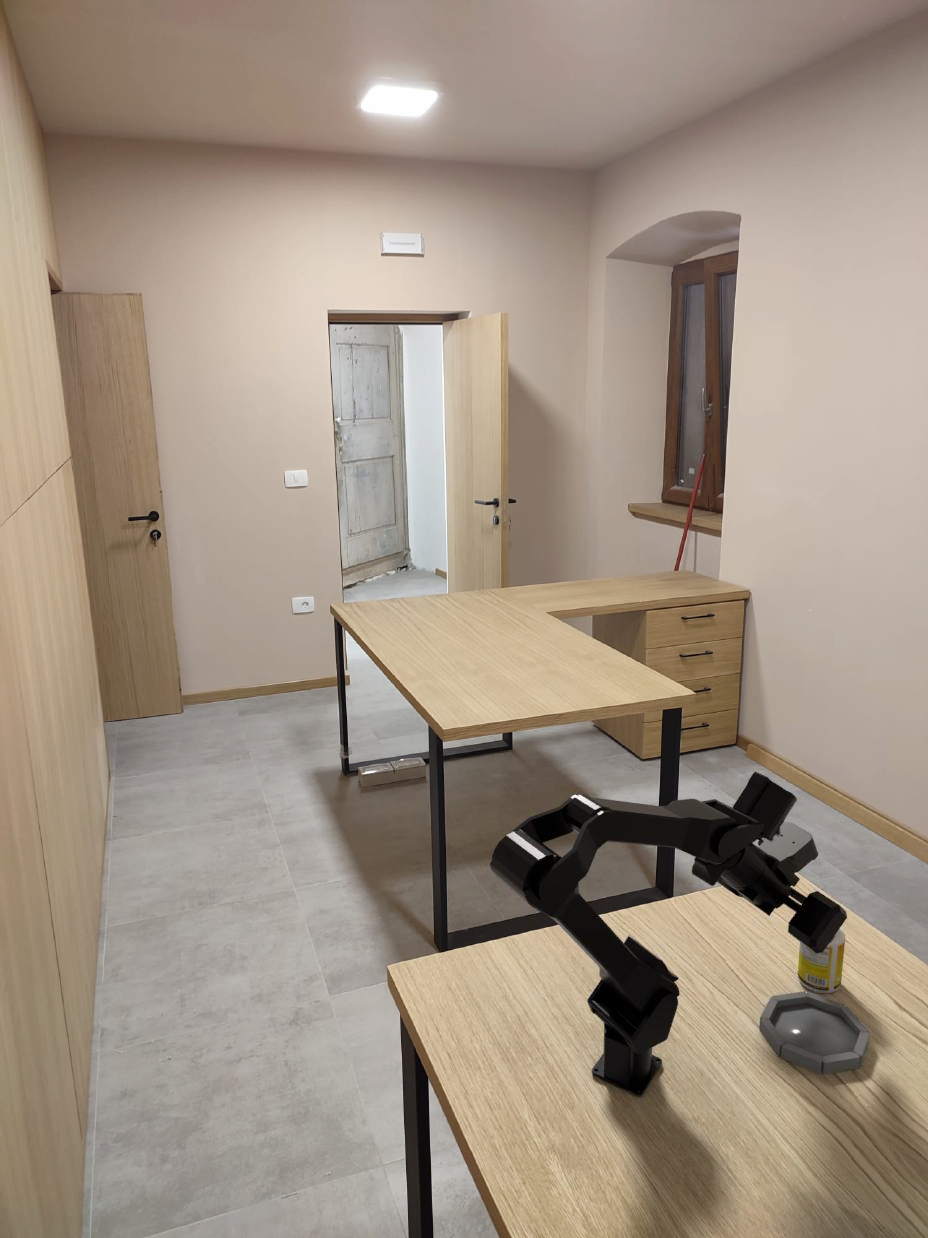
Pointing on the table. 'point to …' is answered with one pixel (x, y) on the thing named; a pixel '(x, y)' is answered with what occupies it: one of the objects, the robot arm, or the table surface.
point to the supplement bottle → (822, 966)
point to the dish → (814, 1032)
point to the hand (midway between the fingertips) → (804, 920)
